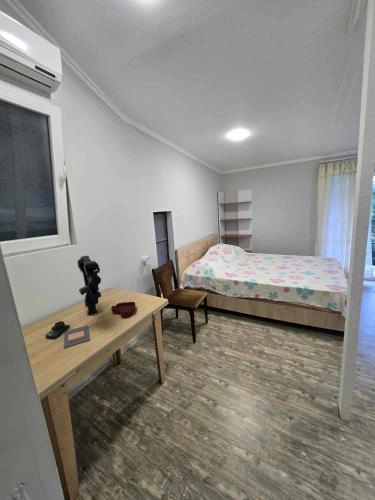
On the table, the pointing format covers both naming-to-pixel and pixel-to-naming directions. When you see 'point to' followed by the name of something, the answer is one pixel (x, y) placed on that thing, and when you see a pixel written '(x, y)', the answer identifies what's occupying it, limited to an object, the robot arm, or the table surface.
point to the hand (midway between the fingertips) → (95, 303)
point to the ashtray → (124, 308)
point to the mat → (84, 328)
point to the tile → (76, 336)
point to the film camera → (57, 330)
